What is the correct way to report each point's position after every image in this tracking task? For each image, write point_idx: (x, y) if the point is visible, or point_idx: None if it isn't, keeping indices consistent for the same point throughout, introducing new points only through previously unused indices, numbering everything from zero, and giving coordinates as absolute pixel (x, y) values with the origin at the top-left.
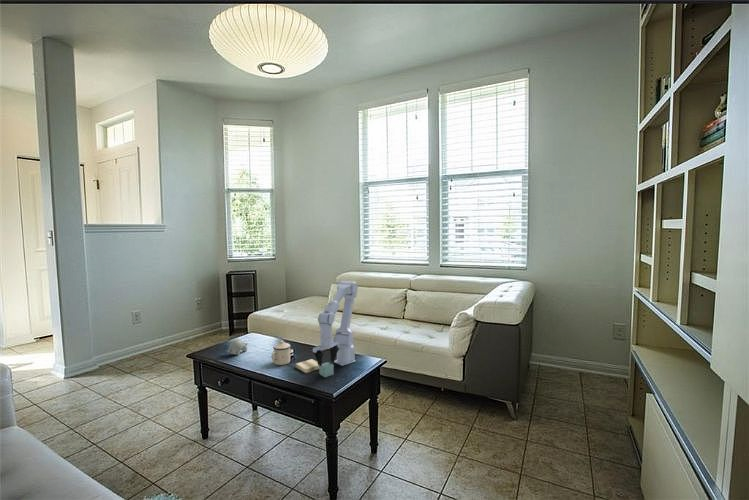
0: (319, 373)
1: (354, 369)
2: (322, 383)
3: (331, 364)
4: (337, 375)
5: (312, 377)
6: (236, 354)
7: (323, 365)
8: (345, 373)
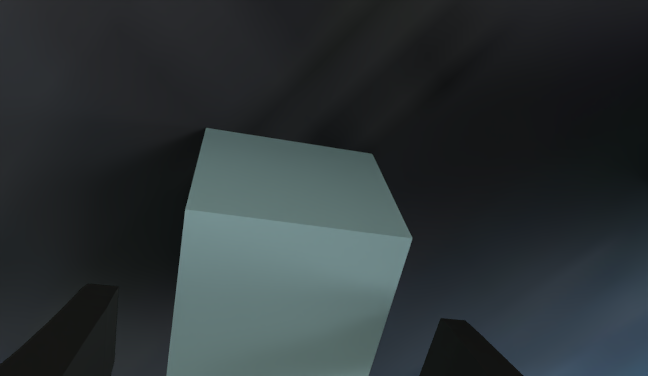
0: (205, 132)
1: (612, 360)
2: None
3: (356, 364)
4: None
5: (33, 131)
6: None
7: (214, 302)
8: None
